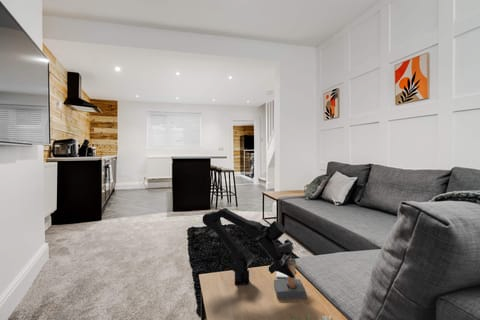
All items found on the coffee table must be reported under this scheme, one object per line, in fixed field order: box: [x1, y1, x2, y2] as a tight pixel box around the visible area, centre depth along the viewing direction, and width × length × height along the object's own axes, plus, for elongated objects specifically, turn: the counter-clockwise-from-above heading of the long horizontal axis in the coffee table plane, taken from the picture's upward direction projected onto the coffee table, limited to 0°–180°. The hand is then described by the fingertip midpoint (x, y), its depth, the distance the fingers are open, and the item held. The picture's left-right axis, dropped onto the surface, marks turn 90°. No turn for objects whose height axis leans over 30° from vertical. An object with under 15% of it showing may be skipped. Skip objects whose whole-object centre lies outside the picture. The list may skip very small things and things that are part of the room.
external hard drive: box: [275, 271, 288, 280], centre depth 124 cm, size 2×8×12 cm
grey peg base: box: [273, 278, 307, 300], centre depth 106 cm, size 12×10×3 cm
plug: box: [287, 258, 297, 289], centre depth 105 cm, size 4×4×13 cm
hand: (294, 275), depth 104 cm, fingers closed on plug, 3 cm apart
